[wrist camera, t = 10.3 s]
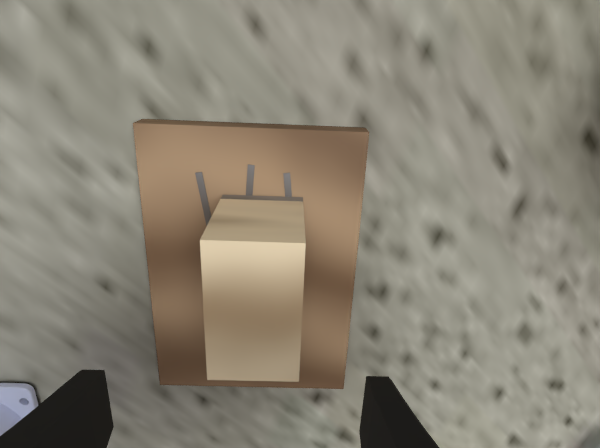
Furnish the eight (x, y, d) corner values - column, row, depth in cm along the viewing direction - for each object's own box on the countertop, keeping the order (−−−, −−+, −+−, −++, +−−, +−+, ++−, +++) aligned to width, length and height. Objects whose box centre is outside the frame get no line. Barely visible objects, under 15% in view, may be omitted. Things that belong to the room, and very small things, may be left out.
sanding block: (297, 310, 21) (298, 381, 17) (225, 308, 21) (207, 379, 17) (302, 197, 19) (305, 243, 15) (222, 194, 19) (199, 240, 14)
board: (341, 373, 25) (343, 389, 23) (166, 369, 24) (159, 385, 23) (365, 127, 19) (369, 132, 18) (142, 119, 19) (132, 123, 18)
